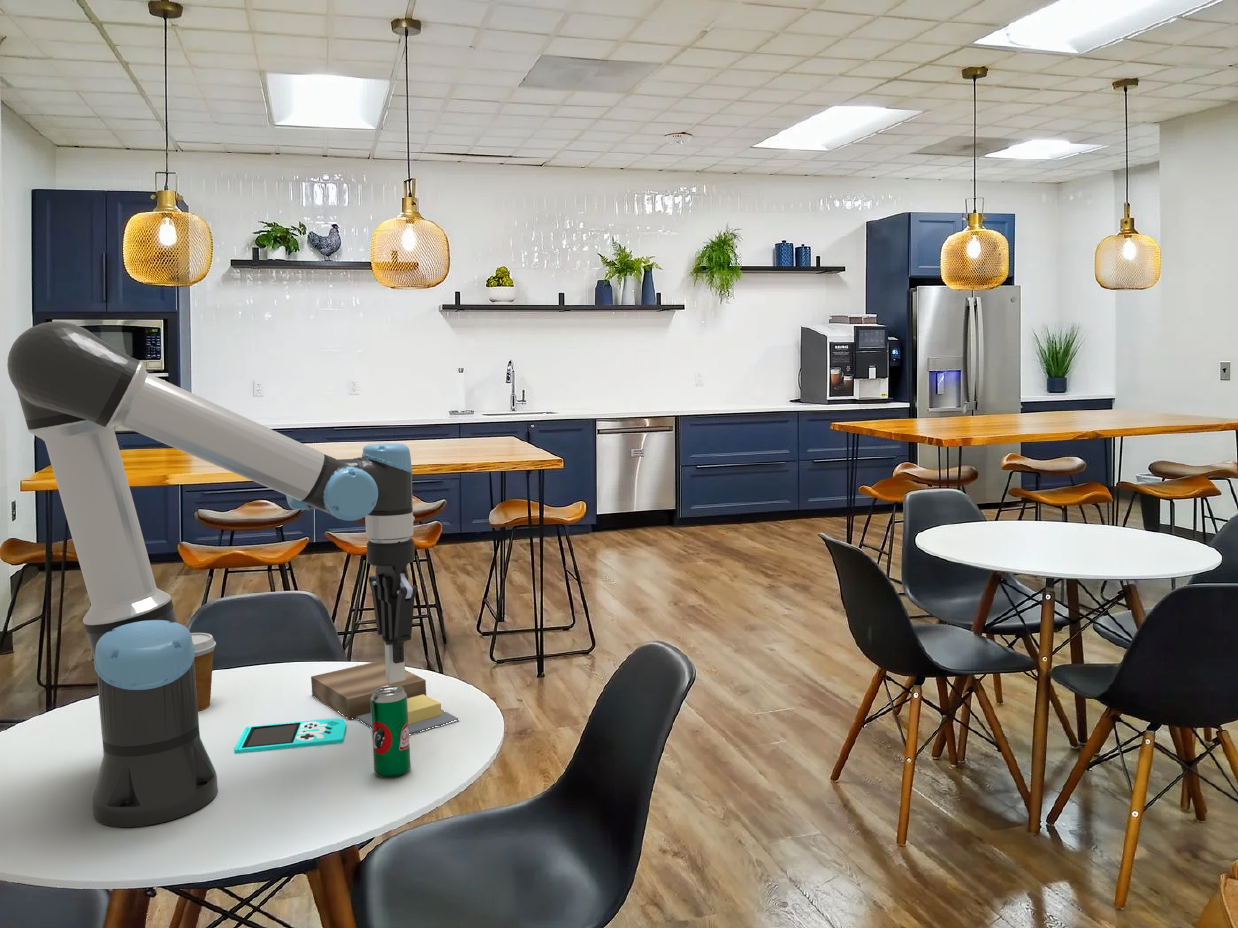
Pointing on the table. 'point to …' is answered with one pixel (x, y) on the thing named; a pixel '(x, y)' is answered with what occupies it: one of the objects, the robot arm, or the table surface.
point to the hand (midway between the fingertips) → (395, 680)
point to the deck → (360, 687)
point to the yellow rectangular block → (422, 708)
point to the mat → (419, 725)
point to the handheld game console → (291, 735)
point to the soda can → (390, 731)
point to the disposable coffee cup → (203, 667)
